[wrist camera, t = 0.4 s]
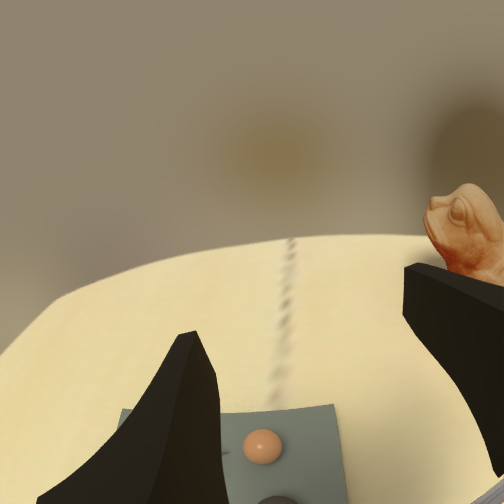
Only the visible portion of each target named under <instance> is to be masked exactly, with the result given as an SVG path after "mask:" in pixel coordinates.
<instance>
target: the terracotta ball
mask: <svg viewBox="0 0 504 504" xmlns="http://www.w3.org/2000/svg"><path fill="white" fill-rule="evenodd" d="M243 452H244V455H245V456H246V458H247V459H248V460H249V461H251V462H253V463H255V464H259V465H265V464H269V463H272V462H274V461H275V460H276V459H277V458H278V457H279V456H280V454H281V452H282V441H281V439H280V437H279V436H278V435H277V434H276V433H275V432H273V431H271V430H267V429H258V430H255V431H252V432H251V433H249V434H248V435H247V436H246V438H245V439H244V442H243Z"/></svg>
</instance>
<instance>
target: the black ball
mask: <svg viewBox="0 0 504 504" xmlns="http://www.w3.org/2000/svg"><path fill="white" fill-rule="evenodd" d="M258 504H298V503H297V502H295V501H294V500H293V499H291V498H289V497H285V496H271V497H268V498H265V499H263V500H261V501H260V502H259V503H258Z"/></svg>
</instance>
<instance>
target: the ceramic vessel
mask: <svg viewBox="0 0 504 504" xmlns="http://www.w3.org/2000/svg"><path fill="white" fill-rule="evenodd" d="M423 222H424V226H425V229H426V232H427V235H428V237H429V239H430V241H431V242H432V244H433V245H434V247H435V248H436V250H437V251H438V252H439V254H440V255H441V256H442V257H443V259H444V260H445V261H446V265H447V269H448V271H451V272H455V273H458V274H461V275H464V276H467V277H471V278H474V279H477V280H481V281H484V282H488V283H492V284H496V285H499V286H504V222H503V221H502V220H501V218H500V216H499V214H498V212H497V210H496V208H495V206H494V204H493V202H492V201H491V200H490V199H489V197H488V196H487V195H486V194H485V193H484V192H483V191H482V190H481V189H480V188H479V187H477V186H476V185H474V184H464V185H462V186H460V187H459V188H458V189H457V190H456V191H455V192H454V193H452V194H450V195H448V196H443V197H437V196H434V197H432V198H431V199H430V203H429V205H428V206H427V208H426V211H425V214H424V217H423Z"/></svg>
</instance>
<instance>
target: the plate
mask: <svg viewBox="0 0 504 504" xmlns="http://www.w3.org/2000/svg"><path fill="white" fill-rule="evenodd" d="M131 412H132V410H131V409H122V412H121V416H120V420H119V423H118V427H117V430H118V428H119V427H120V426H121V425H122V423H123V422H124V421H125V420H126V418H127V417H128V416H129V414H130V413H131ZM220 418H221V449H222V464H223V472H224V478H225V484H226V489H227V495H228V499H229V504H258V503H259V502H260V501H261V500H263V499H265V498H268V497H271V496H285V497H289V498H291V499H293V500H294V501H295V502H297V503H298V504H347V495H346V486H345V478H344V470H343V462H342V455H341V448H340V441H339V434H338V427H337V421H336V415H335V408H334V404H329V405H323V406H315V407H308V408H299V409H290V410H279V411H267V412H251V413H220ZM258 429H267V430H271V431H273V432H275V433H276V434H277V435H278V436H279V437H280V439H281V441H282V452H281V454H280V456H279V457H278V458H277V459H276V460H275V461H274V462H272V463H269V464H265V465H259V464H255V463H253V462H251V461H249V460H248V459H247V458H246V456H245V455H244V452H243V442H244V439H245V438H246V436H247V435H248V434H249V433H251V432H252V431H255V430H258Z"/></svg>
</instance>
